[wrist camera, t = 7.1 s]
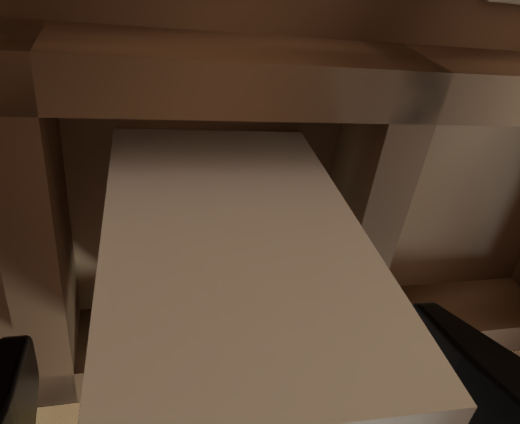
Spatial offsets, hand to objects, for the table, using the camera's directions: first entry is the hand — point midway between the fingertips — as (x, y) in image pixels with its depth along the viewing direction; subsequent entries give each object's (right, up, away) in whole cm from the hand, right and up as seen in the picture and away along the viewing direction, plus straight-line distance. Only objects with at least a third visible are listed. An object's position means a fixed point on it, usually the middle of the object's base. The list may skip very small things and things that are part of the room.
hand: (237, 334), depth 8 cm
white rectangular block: (-1, +2, +3) cm, 4 cm away
